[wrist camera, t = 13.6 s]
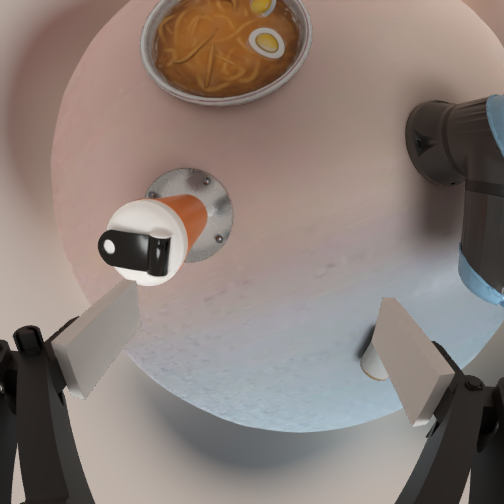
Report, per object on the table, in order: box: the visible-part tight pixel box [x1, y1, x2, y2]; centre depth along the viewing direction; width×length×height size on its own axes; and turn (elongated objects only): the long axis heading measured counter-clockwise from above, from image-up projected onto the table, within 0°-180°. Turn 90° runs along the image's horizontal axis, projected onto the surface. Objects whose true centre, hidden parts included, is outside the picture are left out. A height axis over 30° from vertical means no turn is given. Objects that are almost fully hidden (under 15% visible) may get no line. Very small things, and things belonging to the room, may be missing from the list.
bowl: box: [140, 0, 312, 107], centre depth 32 cm, size 23×23×10 cm
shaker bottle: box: [98, 194, 208, 286], centre depth 34 cm, size 9×9×20 cm
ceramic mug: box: [360, 342, 389, 381], centre depth 47 cm, size 11×8×8 cm
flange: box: [144, 169, 233, 263], centre depth 44 cm, size 15×15×1 cm
